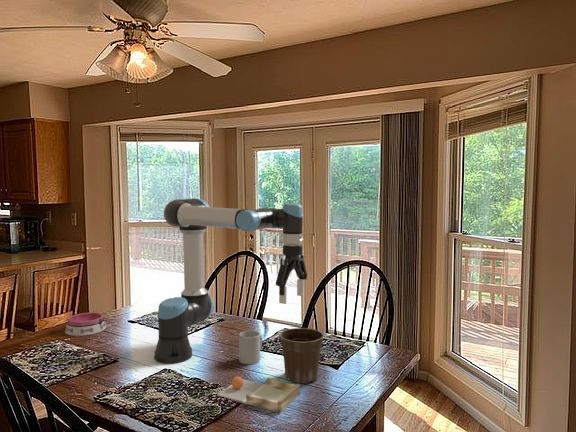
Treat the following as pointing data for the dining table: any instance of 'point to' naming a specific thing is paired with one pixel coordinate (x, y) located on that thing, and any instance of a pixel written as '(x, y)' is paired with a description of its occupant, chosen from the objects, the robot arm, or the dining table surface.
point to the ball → (237, 382)
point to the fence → (272, 404)
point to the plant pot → (301, 354)
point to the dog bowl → (85, 324)
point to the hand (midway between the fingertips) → (291, 299)
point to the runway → (253, 392)
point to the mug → (249, 347)
